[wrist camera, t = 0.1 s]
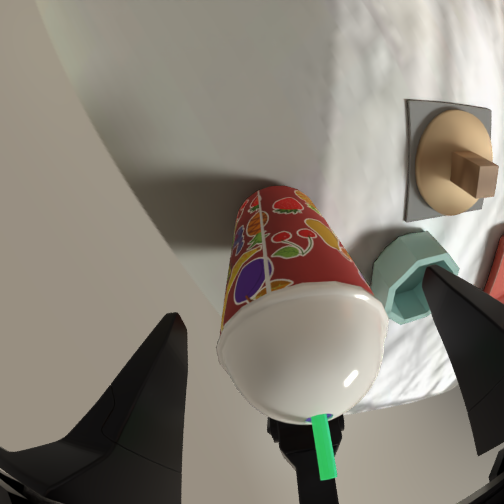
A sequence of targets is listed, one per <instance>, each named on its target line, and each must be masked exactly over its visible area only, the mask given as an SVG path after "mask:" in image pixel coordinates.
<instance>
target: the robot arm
mask: <svg viewBox="0 0 504 504" xmlns="http://www.w3.org/2000/svg"><path fill="white" fill-rule="evenodd" d="M422 289H423V292H424V295H425V297H426V300H427V303H428V306H429V308H430V311H431V314H432V317H433V320H434V323H435V325H436V327H437V330H438V332H439V334H440V336H441V339H442V341H443V344H444V346H445V348H446V351H447V353H448V356H449V359H450V361H451V364H452V367H453V369H454V372H455V375H456V378H457V381H458V383H459V386H460V389H461V393H462V396H463V399H464V402H465V406H466V409H467V412H468V417H469V420H470V424H471V428H472V432H473V437H474V441H475V446H476V451H477V455H478V456H480V455H482V454H483V453H485V452H487V451H489V450H491V449H493V448H494V447H496V446H498V445H500V444H501V443H503V442H504V304H503V303H501V302H500V301H498V300H497V299H495V298H493V297H492V296H490V295H489V294H487V293H485V292H484V291H482V290H480V289H479V288H477V287H475V286H474V285H472V284H470V283H469V282H467V281H465V280H463V279H462V278H460V277H458V276H457V275H455V274H453V273H451V272H449V271H448V270H446V269H444V268H442V267H440V266H439V265H436V264H434V265H430V266H427V267H426V269H425V273H424V277H423V280H422ZM187 354H188V351H187V329H186V326H185V325H184V323H183V321H182V319H181V317H180V315H179V314H178V313H176V312H174V313H167V314H166V315H165V316H164V317H163V318H162V320H161V321H160V322H159V323H158V325H157V326H156V327H155V328H154V329H153V331H152V332H151V333H150V334H149V336H148V337H147V338H146V339H145V341H144V342H143V343H142V345H141V346H140V347H139V349H138V350H137V351H136V352H135V353H134V355H133V356H132V357H131V359H130V360H129V361H128V362H127V364H126V365H125V366H124V368H123V369H122V370H121V371H120V373H119V374H118V375H117V377H116V378H115V379H114V381H113V382H112V383H111V385H110V386H109V387H108V388H107V390H106V391H105V392H104V394H103V395H102V396H101V397H100V399H99V400H98V401H97V402H96V404H95V405H94V406H93V407H92V408H91V409H90V410H89V412H88V413H87V414H86V415H85V416H84V417H83V418H82V419H81V421H79V423H78V424H77V425H76V426H75V427H74V428H73V429H72V430H71V431H70V432H69V433H68V434H67V435H66V436H65V437H64V438H62V439H60V440H58V441H56V442H52V443H49V444H45V445H42V446H38V447H34V448H30V449H26V450H22V451H17V452H9V451H7V450H6V449H4V448H2V447H0V468H1V469H3V470H4V471H5V472H6V473H8V474H9V475H8V474H6V473H4V472H2V471H1V470H0V504H181V482H182V480H181V479H182V474H181V472H182V449H183V447H182V446H183V428H184V413H185V400H186V399H185V398H186V387H187V375H188V355H187ZM328 425H329V430H330V436H331V441H332V447H333V453H334V457H335V455H336V452H337V450H338V447H339V445H340V442H341V439H342V433H341V431H343V430H344V418H343V414H342V415H340V416H338V417H336V418H334V419H332V420H329V421H328ZM267 432H268V433H269V434H271V435H272V438H273V440H274V442H275V443H277V442H279V448H280V450H281V453H282V455H283V457H284V458H285V459H286V460H287V462H288V463H289V464H290V465H291V466H292V467H293V468H294V469H295V471H296V474H297V483H298V493H299V503H300V504H339V502H338V495H337V489H336V483H335V478H332V479H327V480H320V473H319V466H318V459H317V452H316V446H315V440H314V433H313V427H312V425H296V424H289V423H284V422H280V421H277V420H275V419H272V418H270V417H268V424H267ZM10 475H11V476H10ZM489 480H490V482H489V483H488V484H486V485H485V486H484V487H482V488H481V489H479V490H478V491H476V492H475V493H473V494H472V495H470V496H468V497H467V498H465V499H463V500H462V501H460V502H459V503H457V504H504V448H503V449H501V450H500V451H499V452H498V455H497V458H496V460H495V463H494V465H493V468H492V470H491V473H490V475H489Z"/></svg>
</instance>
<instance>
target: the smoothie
mask: <svg viewBox="0 0 504 504" xmlns="http://www.w3.org/2000/svg"><path fill="white" fill-rule="evenodd" d="M388 321H389V317H388V315H387V313H386V311H385V309H384V307H383V305H382V303H381V302H380V300H379V299H378V298H377V297H375V295H374V294H373V292H372V290H371V288H370V287H369V285H368V284H367V282H366V280H365V279H364V277H363V276H362V274H361V273H360V271H359V269H358V268H357V266H356V265H355V263H354V262H353V260H352V259H351V257H350V256H349V254H348V253H347V251H346V250H345V248H344V247H343V245H342V244H341V242H340V241H339V239H338V238H337V236H336V235H335V234H334V232H333V231H332V229H331V228H330V226H329V225H328V224H327V222H326V221H325V219H324V218H323V217H322V215H321V214H320V212H319V211H318V210H317V208H316V207H315V206H314V204H313V203H312V201H311V200H310V199H309V197H308V196H306V195H305V194H304V193H302V192H301V191H299V190H298V189H294V188H291V187H287V186H270V187H267V188H264V189H261V190H258V191H256V192H255V193H254V194H252V195H251V196H250V197H248V198H247V199H246V200H245V202H244V203H243V204H242V206H241V207H240V209H239V211H238V215H237V218H236V223H235V230H234V236H233V243H232V250H231V257H230V264H229V271H228V278H227V285H226V292H225V299H224V306H223V314H222V322H221V329H220V338H219V340H218V343H217V347H216V348H217V354H218V359H219V363H220V364H221V366H222V367H223V368H224V369H225V371H226V372H227V373H228V374H229V375H230V378H231V379H232V381H233V383H234V385H235V387H236V389H237V390H238V391H239V392H240V393H241V395H242V396H243V397H244V398H245V399H246V400H247V401H248V402H249V404H250V405H251V406H252V407H254V408H255V409H256V410H258V411H259V412H260V413H262V414H263V415H266V416H268V417H270V418H272V419H275V420H277V421H280V422H284V423H289V424H296V425H312V427H313V433H314V440H315V446H316V452H317V459H318V466H319V473H320V480H327V479H332V478H335V477H337V471H336V465H335V459H334V453H333V447H332V441H331V436H330V430H329V425H328V421H329V420H332V419H334V418H336V417H338V416H340V415H342V414H344V413H345V412H347V411H348V410H350V409H351V408H352V407H354V406H355V405H356V404H357V403H359V402H360V401H361V399H362V398H363V397H364V396H365V395H366V394H367V392H368V391H369V390H370V388H371V387H372V385H373V383H374V381H375V380H376V378H377V376H378V373H379V370H380V367H381V364H382V358H383V351H384V340H385V338H386V336H387V331H388Z"/></svg>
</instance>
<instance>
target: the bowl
mask: <svg viewBox="0 0 504 504" xmlns="http://www.w3.org/2000/svg"><path fill="white" fill-rule="evenodd" d="M434 264H436V265H439V266H440V267H442V268H444V269H446V270H448V271H449V272H451V273H453V274H455V275H458V272H459V267H458V266H457V265H456V263H455V262H454V260H453V259H452V258H451V256H450V255H449V254H448V253H447V251H446V250H445V249H444V248H443V247H442V246H441V245H440V244H439V243H438V242H437V240H436V239H435V238H434V237H433V236H432V235H431V234H430V233H429V232H428V231H425V232H421V233H418V232H415V233H409V234H406V235H403V236H401V237H398V238H397V239H396V240H395V241H393V242H392V243H391V244H389V245H388V246H387V247H386V248H385V249H384V251H383V252H382V253H381V254H380V256H379V257H378V259H377V260H376V261H375V262H374V268H373V273H372V285H371V290H372V292H373V294H374V295H375V297H377V298H378V299H379V300H380V302H381V303H382V305H383V307H384V309H385V311H386V313H387V315H388V317H389V319H391V320H393V321H395V322H396V323H398V324H400V325H402V324H405V323H409V322H412V321H415V320H418V319H421V318H424V317H427V316H428V315H430V314H431V311H430V308H429V306H428V303H427V300H426V297H425V295H424V292H423V289H422V280H423V277H424V273H425V269H426V267H427V266H430V265H434Z"/></svg>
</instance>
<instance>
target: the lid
mask: <svg viewBox="0 0 504 504" xmlns="http://www.w3.org/2000/svg"><path fill="white" fill-rule="evenodd" d="M492 159H493V157H492V145H491V141H490V137H489V134H488V132H487V130H486V128H485V127H484V125H483V124H482V122H481V121H480V120H479V119H478V118H477V117H475V116H474V115H473V114H470V113H468V112H465V111H462V110H457V109H451V110H447V111H444V112H442V113H440V114H438V115H437V116H436V117H435V118H434V119H432V121H431V122H430V123H429V124H428V126H427V127H426V129H425V130H424V132H423V134H422V136H421V139H420V141H419V144H418V148H417V152H416V158H415V176H416V182H417V186H418V189H419V192H420V194H421V196H422V197H423V199H424V200H425V202H426V203H427V204H428V205H429V206H431V207H432V208H433V209H434V210H435V211H437V212H438V213H440V214H443V215H449V216H452V215H457V214H460V213H463V212H465V211H466V210H468V209H469V208H470V207H472V206H473V205H474V204H475V203H476V202H477V201H478V199H479V198H486V197H493V196H494V195H495V189H496V183H497V176H498V168H499V166H498V165H496V164H494V163H493V162H492Z"/></svg>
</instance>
